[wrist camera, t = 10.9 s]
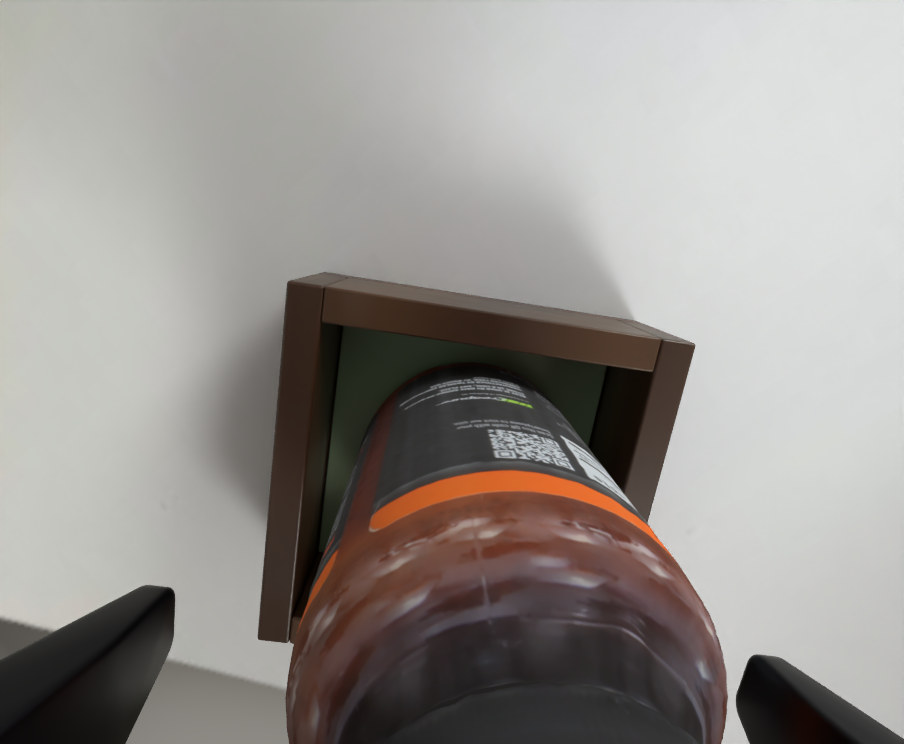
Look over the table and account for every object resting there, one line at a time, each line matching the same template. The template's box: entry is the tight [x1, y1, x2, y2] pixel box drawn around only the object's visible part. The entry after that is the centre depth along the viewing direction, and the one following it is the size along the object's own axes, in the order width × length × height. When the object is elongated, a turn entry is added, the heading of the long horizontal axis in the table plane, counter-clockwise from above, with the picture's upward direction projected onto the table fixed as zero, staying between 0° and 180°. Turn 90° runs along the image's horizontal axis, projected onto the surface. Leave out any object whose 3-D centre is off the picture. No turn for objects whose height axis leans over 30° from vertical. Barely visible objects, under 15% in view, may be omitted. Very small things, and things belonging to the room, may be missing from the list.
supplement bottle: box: [286, 362, 728, 744], centre depth 10 cm, size 6×6×11 cm
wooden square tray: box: [258, 272, 695, 644], centre depth 14 cm, size 9×9×4 cm
